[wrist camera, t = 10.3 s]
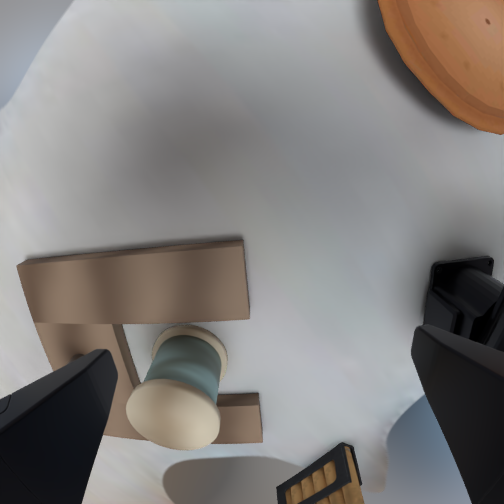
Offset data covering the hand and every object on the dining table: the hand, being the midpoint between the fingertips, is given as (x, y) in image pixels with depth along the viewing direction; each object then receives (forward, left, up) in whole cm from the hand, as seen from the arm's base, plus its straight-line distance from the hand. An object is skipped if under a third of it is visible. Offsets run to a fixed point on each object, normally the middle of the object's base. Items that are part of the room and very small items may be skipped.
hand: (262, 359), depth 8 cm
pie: (-16, -15, -13) cm, 26 cm away
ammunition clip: (-4, +26, -13) cm, 29 cm away
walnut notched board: (+10, +9, -13) cm, 19 cm away
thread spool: (+6, +9, -13) cm, 17 cm away
